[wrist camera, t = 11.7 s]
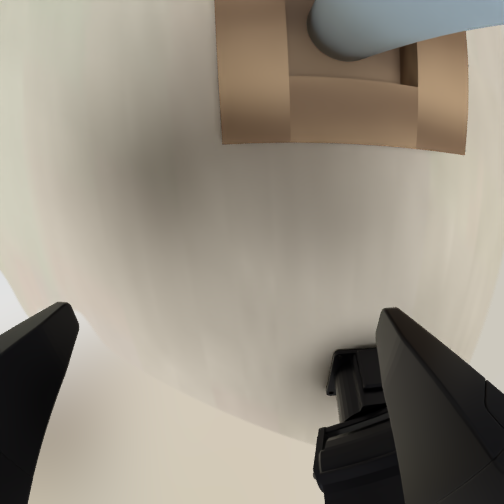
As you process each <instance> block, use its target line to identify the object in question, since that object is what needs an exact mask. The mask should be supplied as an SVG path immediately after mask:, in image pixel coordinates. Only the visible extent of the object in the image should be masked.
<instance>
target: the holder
mask: <svg viewBox="0 0 504 504" xmlns="http://www.w3.org/2000/svg"><path fill="white" fill-rule="evenodd" d="M214 1H215V24H216V45H217V64H218V81H219V98H220V114H221V129H222V144H243V143H284V142H303V143H344V144H364V145H379V146H391V147H403V148H413V149H422V150H430V151H438V152H446V153H453V154H460V155H465V146H466V135H467V119H468V55H467V40H466V31H462V32H457V33H452V34H448V35H443V36H439V37H435V38H431V39H427V40H423V41H419V42H416V43H412V44H409V45H405V46H402V47H398V48H395V49H392V50H388V51H385V52H382V53H379V54H376V55H373V56H370V57H367V58H364V59H361V60H358V61H352V62H345V61H340V60H336V59H333V58H331V57H329V56H327V55H325V54H324V53H322V52H321V51H320V50H319V49H318V48H317V47H316V46H315V45H314V43H313V42H312V40H311V39H310V37H309V34H308V31H307V17H308V14H309V12H310V10H311V8H312V6H313V4H314V1H315V0H214Z"/></svg>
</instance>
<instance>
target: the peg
mask: <svg viewBox="0 0 504 504" xmlns="http://www.w3.org/2000/svg"><path fill="white" fill-rule="evenodd" d="M497 25H504V0H315V1H314V4H313V6H312V8H311V10H310V12H309V14H308V17H307V31H308V34H309V37H310V39H311V40H312V42H313V43H314V45H315V46H316V47H317V48H318V49H319V50H320V51H321V52H322V53H324V54H325V55H327V56H329V57H331V58H333V59H336V60H340V61H345V62H352V61H358V60H361V59H364V58H367V57H370V56H373V55H376V54H379V53H382V52H385V51H388V50H392V49H395V48H398V47H402V46H405V45H409V44H412V43H416V42H419V41H423V40H427V39H431V38H435V37H439V36H443V35H448V34H452V33H457V32H462V31H467V30H472V29H478V28H484V27H490V26H497Z"/></svg>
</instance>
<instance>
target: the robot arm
mask: <svg viewBox="0 0 504 504" xmlns="http://www.w3.org/2000/svg"><path fill="white" fill-rule="evenodd" d="M78 331H79V323H78V321H77V318H76V316H75V314H74V311H73V309H72V307H71V305H70V304H69V303H67V302H57V303H55V304H53V305H51V306H49V307H48V308H46V309H44V310H42V311H41V312H39V313H37V314H35V315H34V316H32V317H30V318H28V319H27V320H25V321H23V322H22V323H20V324H18V325H16V326H15V327H13V328H11V329H10V330H8V331H6V332H5V333H3V334H1V335H0V504H28V500H29V495H30V490H31V485H32V481H33V475H34V472H35V468H36V464H37V460H38V456H39V453H40V449H41V445H42V442H43V439H44V435H45V432H46V428H47V425H48V422H49V419H50V416H51V413H52V410H53V407H54V404H55V401H56V398H57V396H58V393H59V390H60V387H61V384H62V382H63V379H64V377H65V374H66V371H67V368H68V364H69V361H70V357H71V354H72V351H73V347H74V344H75V341H76V338H77V335H78ZM376 345H377V348H371V349H356V350H339V351H336V352H335V353H334V354H333V360H332V365H331V370H330V374H329V379H328V384H327V388H326V393H327V395H329V396H333V395H336V397H337V405H338V412H339V420H340V423H339V424H336V425H333V426H329V427H323V428H319V432H318V437H317V444H316V452H315V460H314V466H313V471H314V473H313V477H314V479H316V480H317V483H318V486H319V488H320V489H321V491H322V492H323V493H324V499H325V504H504V394H503V393H502V392H501V391H500V390H498V389H497V388H496V387H495V386H494V385H492V384H491V383H490V382H489V381H488V380H486V381H485V378H484V377H483V376H482V375H480V374H479V373H478V372H477V371H476V370H475V369H473V368H472V367H471V366H470V365H469V364H467V363H466V362H465V361H464V360H463V359H461V358H460V357H459V356H458V355H457V354H455V353H454V352H453V351H452V350H450V349H449V348H448V347H447V346H445V345H444V344H443V343H442V342H441V341H439V340H438V339H437V338H436V337H434V336H433V335H432V334H431V333H429V332H428V331H427V330H425V329H424V328H423V327H422V326H420V325H419V324H418V323H417V322H415V321H414V320H413V319H412V318H410V317H409V316H408V315H406V314H405V313H404V312H403V311H401V310H400V309H398V308H396V307H393V308H384V309H382V311H381V314H380V318H379V322H378V326H377V329H376Z"/></svg>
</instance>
